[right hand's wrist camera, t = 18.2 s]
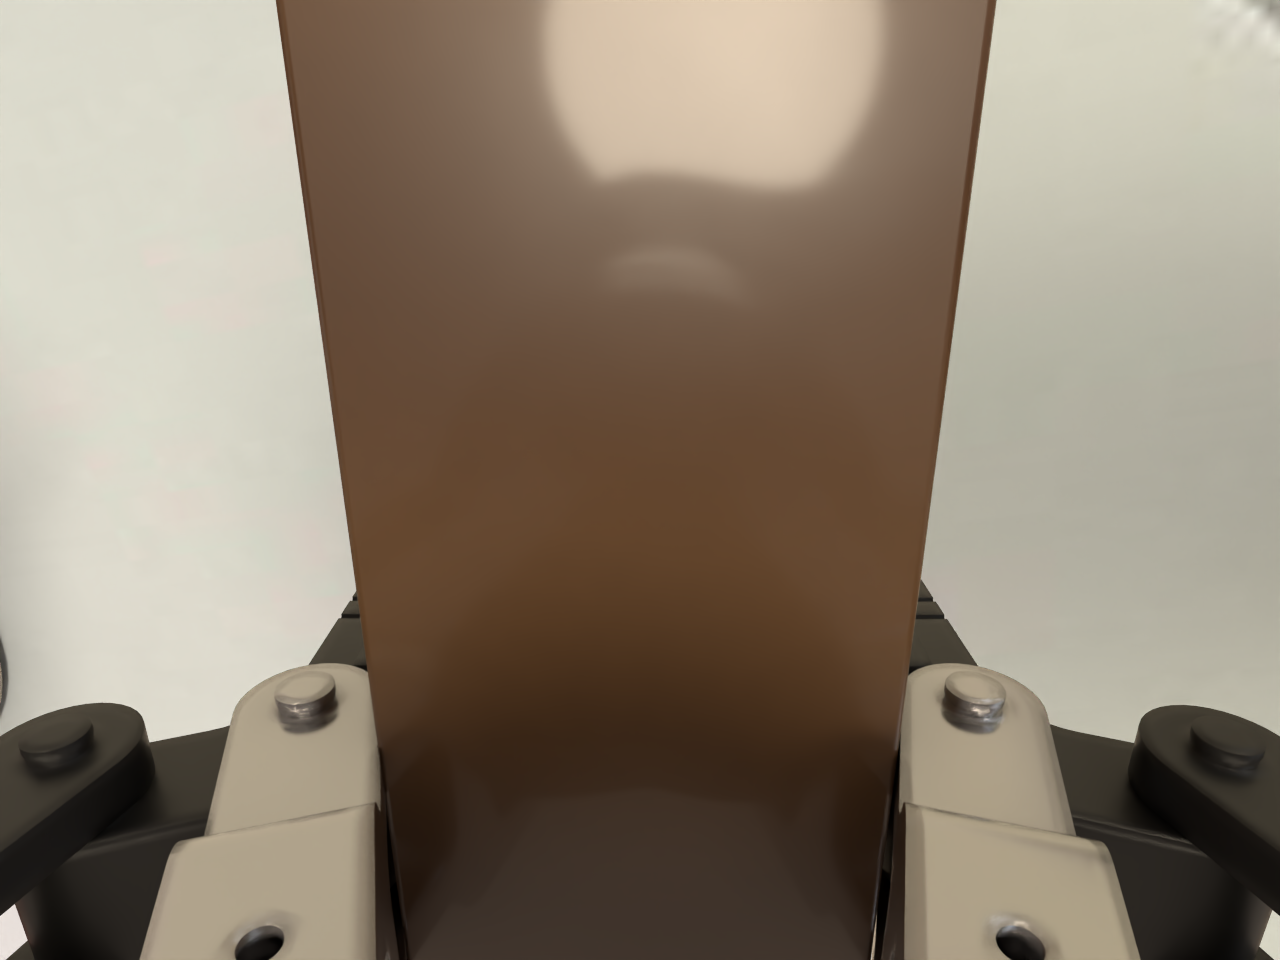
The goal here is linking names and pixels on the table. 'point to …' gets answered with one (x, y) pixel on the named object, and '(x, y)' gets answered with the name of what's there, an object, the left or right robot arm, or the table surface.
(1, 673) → the bust sculpture
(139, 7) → the table surface
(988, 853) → the right robot arm
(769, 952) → the beam
